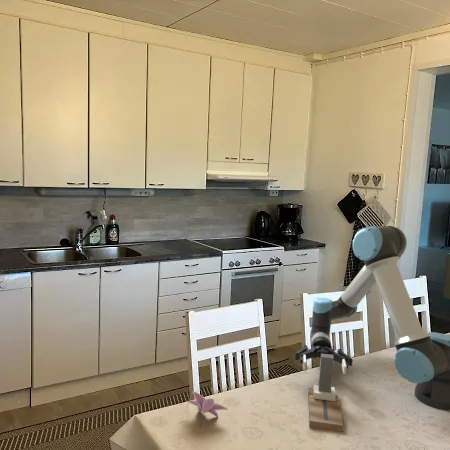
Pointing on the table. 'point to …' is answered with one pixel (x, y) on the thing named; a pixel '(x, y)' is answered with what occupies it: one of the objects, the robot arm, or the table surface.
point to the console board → (325, 413)
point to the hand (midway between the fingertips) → (324, 368)
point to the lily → (206, 405)
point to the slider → (325, 379)
